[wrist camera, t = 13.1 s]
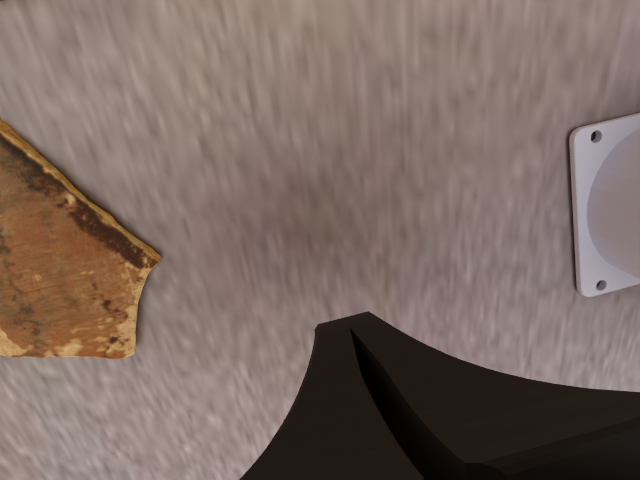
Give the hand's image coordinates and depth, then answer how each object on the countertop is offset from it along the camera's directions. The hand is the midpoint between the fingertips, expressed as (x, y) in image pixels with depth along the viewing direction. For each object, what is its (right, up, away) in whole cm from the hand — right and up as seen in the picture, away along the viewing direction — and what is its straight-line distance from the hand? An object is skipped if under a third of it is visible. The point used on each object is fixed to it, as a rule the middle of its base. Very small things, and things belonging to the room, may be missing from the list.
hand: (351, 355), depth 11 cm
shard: (-13, +2, +9) cm, 16 cm away
